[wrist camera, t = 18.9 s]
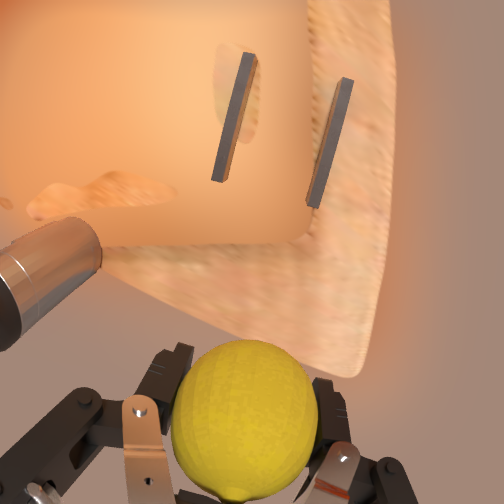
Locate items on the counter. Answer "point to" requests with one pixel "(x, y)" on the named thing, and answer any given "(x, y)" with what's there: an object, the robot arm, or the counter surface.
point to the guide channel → (235, 120)
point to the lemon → (244, 421)
